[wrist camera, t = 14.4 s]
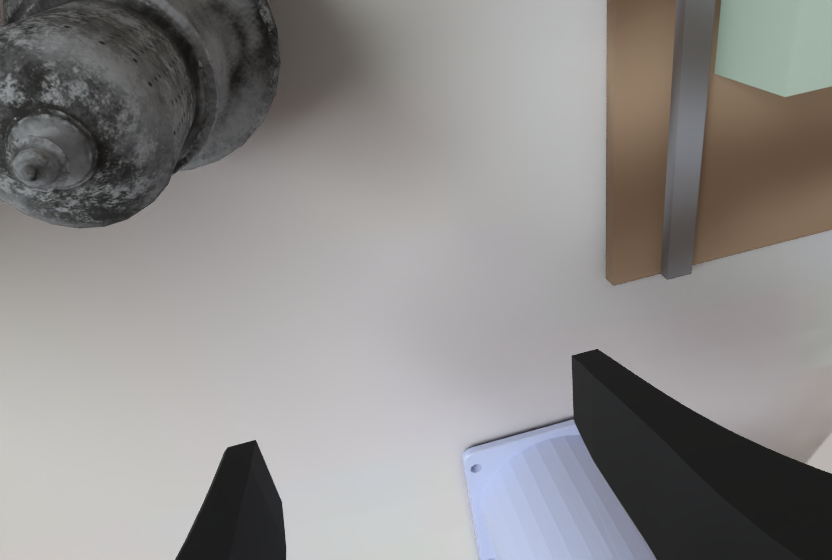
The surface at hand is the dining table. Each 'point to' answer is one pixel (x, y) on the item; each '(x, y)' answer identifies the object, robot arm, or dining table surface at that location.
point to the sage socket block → (776, 44)
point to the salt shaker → (125, 99)
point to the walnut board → (702, 148)
